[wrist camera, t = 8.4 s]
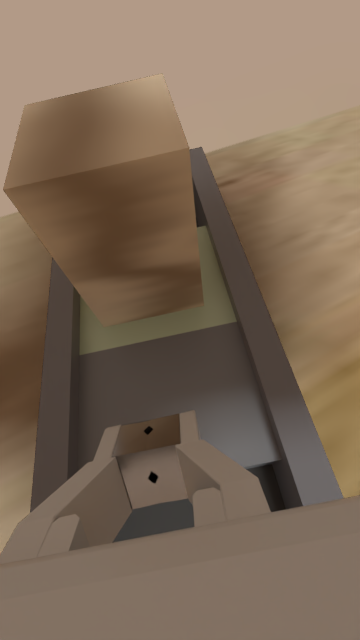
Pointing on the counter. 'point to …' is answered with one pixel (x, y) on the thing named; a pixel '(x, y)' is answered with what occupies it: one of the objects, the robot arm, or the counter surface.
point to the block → (112, 197)
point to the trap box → (181, 380)
